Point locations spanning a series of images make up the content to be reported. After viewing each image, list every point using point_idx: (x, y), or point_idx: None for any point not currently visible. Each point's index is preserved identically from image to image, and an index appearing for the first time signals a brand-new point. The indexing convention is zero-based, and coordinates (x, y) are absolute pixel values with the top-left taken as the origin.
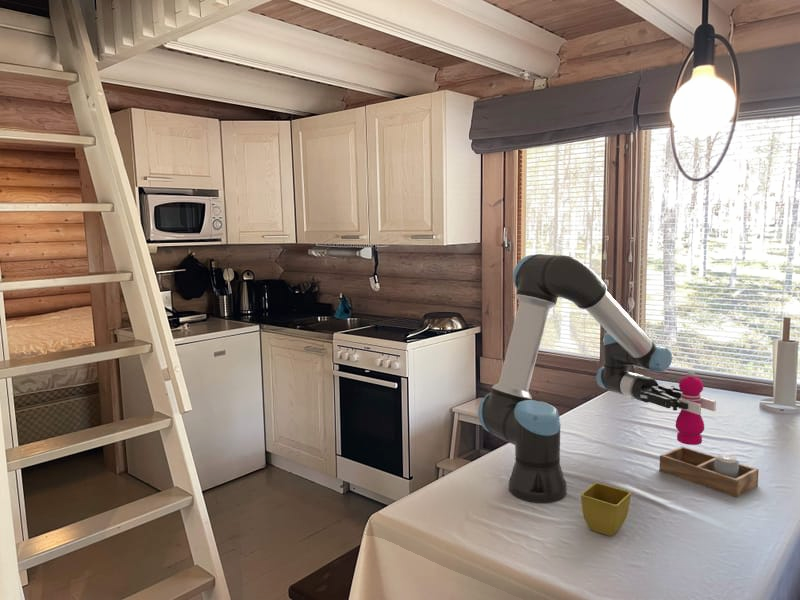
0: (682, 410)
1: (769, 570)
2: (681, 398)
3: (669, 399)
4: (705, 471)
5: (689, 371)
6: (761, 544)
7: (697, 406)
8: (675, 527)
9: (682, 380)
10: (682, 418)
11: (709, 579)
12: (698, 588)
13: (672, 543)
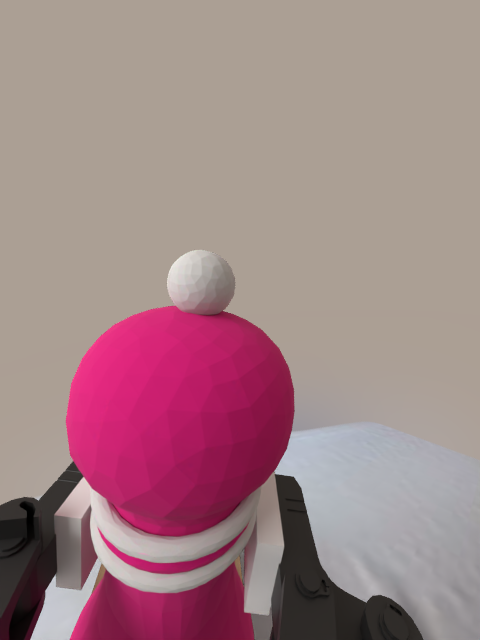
0: (224, 616)
1: (336, 425)
2: (246, 542)
3: (389, 602)
4: (241, 576)
5: (215, 258)
6: (307, 444)
7: None
8: (414, 533)
9: (280, 368)
10: (246, 621)
11: (409, 446)
12: (428, 445)
13: (436, 505)
